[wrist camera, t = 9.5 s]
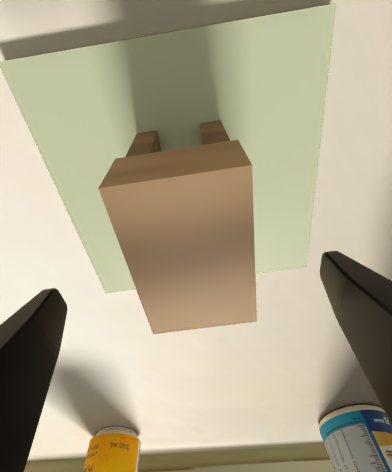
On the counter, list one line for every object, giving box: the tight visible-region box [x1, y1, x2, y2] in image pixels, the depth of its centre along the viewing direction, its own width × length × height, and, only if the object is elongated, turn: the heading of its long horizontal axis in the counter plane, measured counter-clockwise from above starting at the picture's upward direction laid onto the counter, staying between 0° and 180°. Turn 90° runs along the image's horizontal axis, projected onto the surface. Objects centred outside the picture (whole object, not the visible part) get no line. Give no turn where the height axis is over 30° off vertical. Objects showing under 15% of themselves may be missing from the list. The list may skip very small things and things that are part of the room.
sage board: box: [0, 3, 336, 293], centre depth 16 cm, size 14×14×1 cm
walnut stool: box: [98, 120, 257, 334], centre depth 13 cm, size 7×4×6 cm, turn 8°
